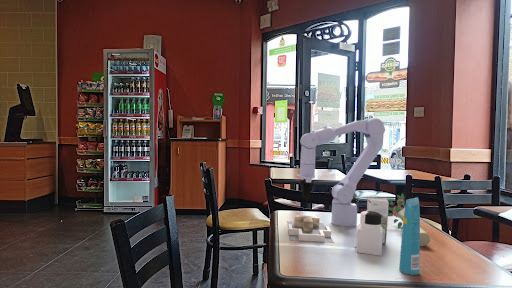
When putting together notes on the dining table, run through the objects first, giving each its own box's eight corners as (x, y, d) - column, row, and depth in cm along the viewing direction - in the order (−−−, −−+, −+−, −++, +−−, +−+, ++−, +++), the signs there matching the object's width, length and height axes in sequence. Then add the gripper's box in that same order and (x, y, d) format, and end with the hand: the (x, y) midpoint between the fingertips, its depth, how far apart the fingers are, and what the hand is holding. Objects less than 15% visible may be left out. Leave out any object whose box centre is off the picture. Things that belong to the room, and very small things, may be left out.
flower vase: (408, 266, 120) (382, 219, 154) (446, 258, 118) (412, 213, 152) (401, 234, 118) (376, 194, 152) (440, 226, 116) (406, 187, 150)
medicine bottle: (381, 249, 113) (383, 211, 112) (381, 256, 106) (383, 215, 106) (357, 246, 115) (359, 208, 115) (356, 252, 108) (358, 212, 108)
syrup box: (382, 239, 124) (384, 197, 123) (386, 244, 118) (388, 200, 118) (365, 238, 124) (367, 196, 124) (368, 243, 118) (370, 199, 118)
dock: (327, 231, 128) (328, 226, 128) (334, 242, 115) (334, 236, 115) (288, 229, 129) (288, 223, 128) (289, 239, 116) (290, 233, 116)
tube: (404, 265, 98) (408, 195, 98) (423, 270, 95) (427, 198, 95) (394, 273, 93) (398, 198, 92) (414, 278, 90) (418, 201, 89)
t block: (318, 225, 136) (318, 216, 136) (321, 232, 127) (321, 222, 127) (294, 224, 136) (294, 215, 136) (295, 230, 127) (296, 220, 127)
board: (323, 225, 140) (323, 223, 140) (334, 245, 114) (334, 242, 114) (286, 223, 141) (287, 221, 141) (289, 242, 115) (290, 240, 115)
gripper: (296, 162, 148) (294, 195, 148) (298, 164, 134) (296, 201, 134) (313, 163, 148) (311, 196, 148) (317, 165, 133) (315, 202, 134)
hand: (305, 198), depth 141 cm, fingers closed
